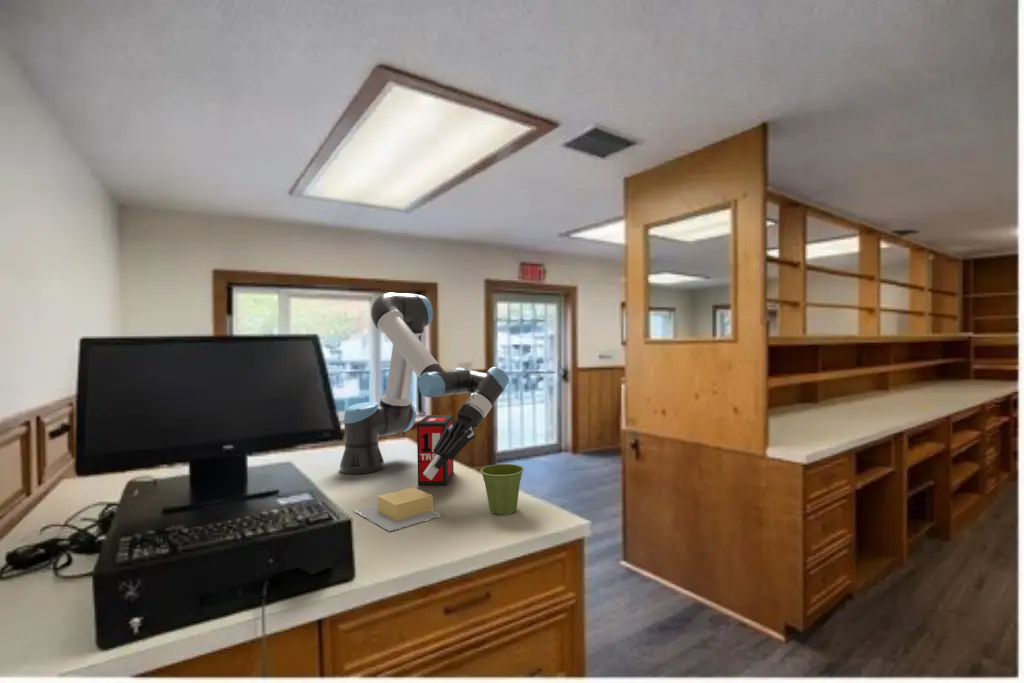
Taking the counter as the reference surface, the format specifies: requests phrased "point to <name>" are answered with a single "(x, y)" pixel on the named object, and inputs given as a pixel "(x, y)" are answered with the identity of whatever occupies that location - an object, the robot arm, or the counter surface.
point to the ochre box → (405, 503)
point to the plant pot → (502, 487)
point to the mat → (390, 523)
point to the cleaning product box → (426, 442)
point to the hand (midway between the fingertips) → (427, 476)
